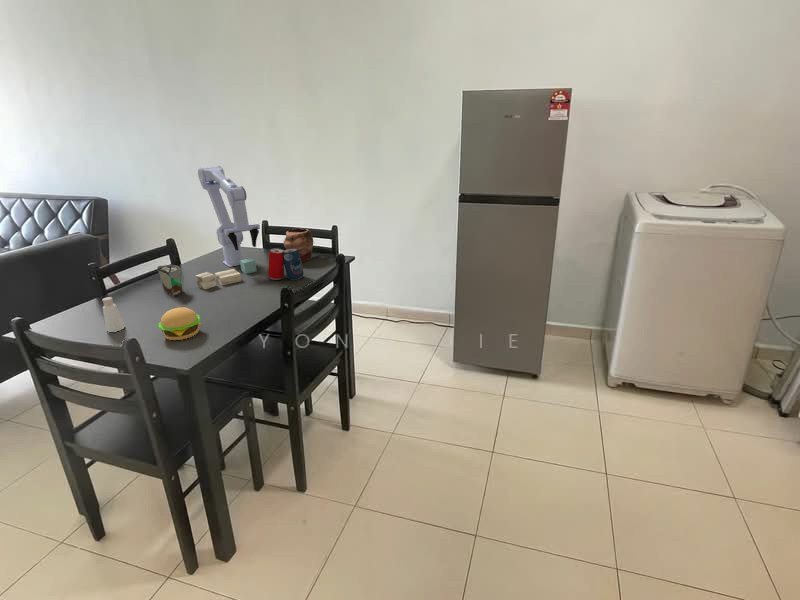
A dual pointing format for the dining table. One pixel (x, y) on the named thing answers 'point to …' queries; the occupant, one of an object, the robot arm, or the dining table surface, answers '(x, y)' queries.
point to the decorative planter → (300, 242)
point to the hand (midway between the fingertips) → (245, 248)
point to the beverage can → (276, 264)
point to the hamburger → (179, 323)
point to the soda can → (292, 263)
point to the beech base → (228, 277)
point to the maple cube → (205, 280)
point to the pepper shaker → (112, 315)
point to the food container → (171, 279)
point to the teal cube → (248, 265)
